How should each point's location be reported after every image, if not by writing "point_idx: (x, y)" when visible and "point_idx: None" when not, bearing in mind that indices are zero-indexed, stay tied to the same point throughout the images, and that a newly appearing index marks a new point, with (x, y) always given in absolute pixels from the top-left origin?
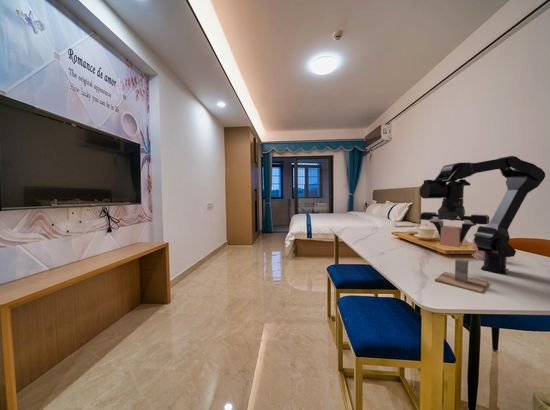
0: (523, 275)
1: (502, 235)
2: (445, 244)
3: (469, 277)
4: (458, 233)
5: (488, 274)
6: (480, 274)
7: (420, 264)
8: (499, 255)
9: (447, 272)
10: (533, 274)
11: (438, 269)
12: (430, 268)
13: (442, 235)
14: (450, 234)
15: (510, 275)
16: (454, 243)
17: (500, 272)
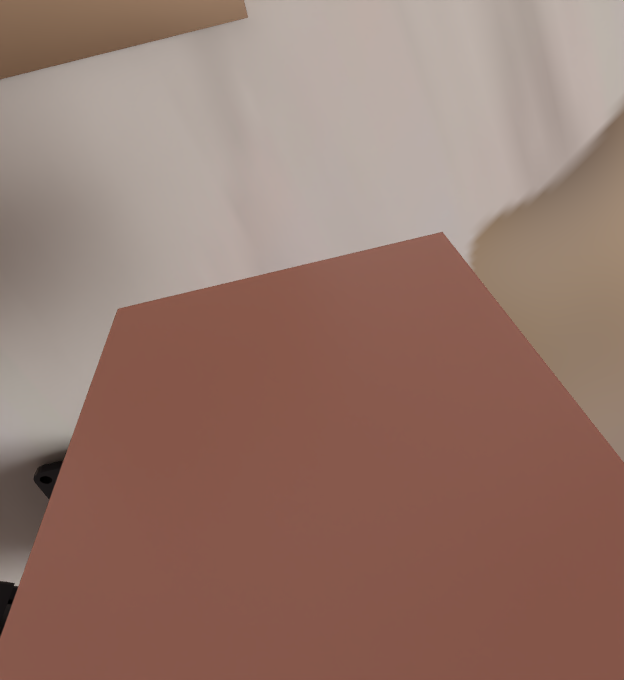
0: (2, 530)
1: None
2: (353, 268)
3: (2, 68)
4: (24, 633)
5: (76, 376)
6: (94, 323)
7: (552, 108)
8: (2, 588)
9: (216, 18)
10: (7, 580)
11: (355, 108)
12: (424, 54)
13: (505, 393)
14: (282, 499)
15: (19, 474)
16: (181, 334)
17: (61, 464)
